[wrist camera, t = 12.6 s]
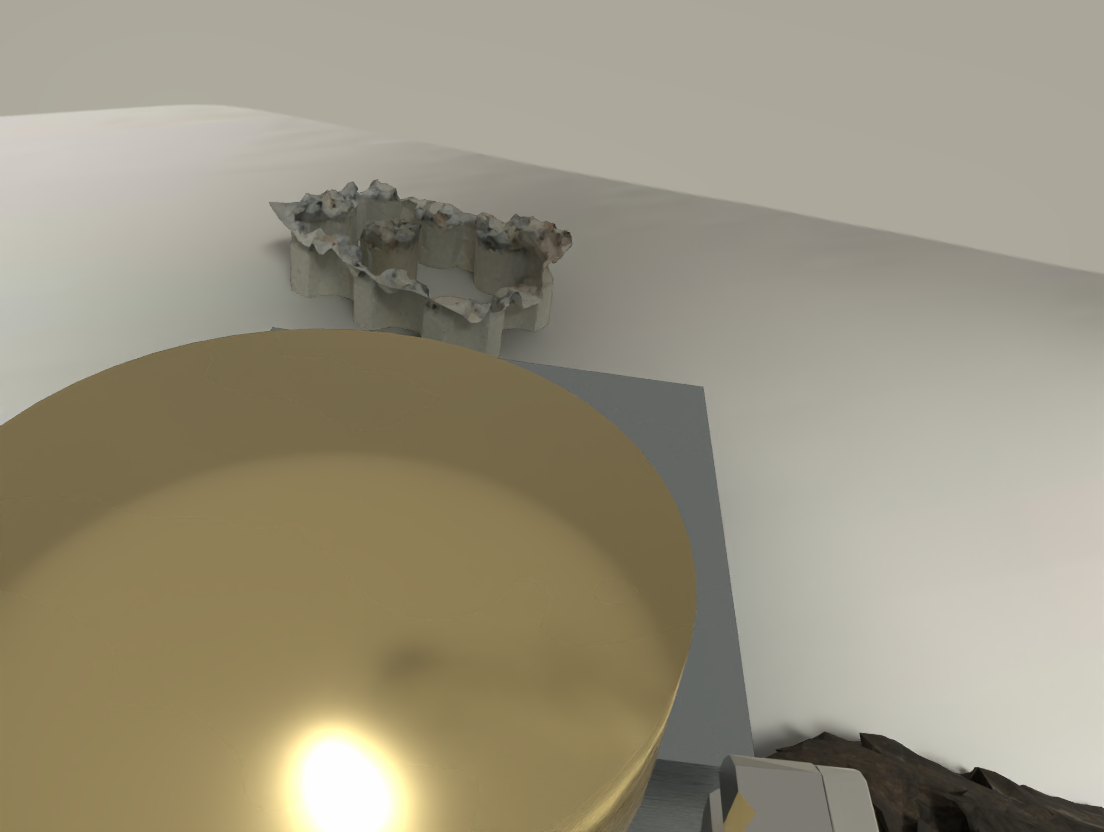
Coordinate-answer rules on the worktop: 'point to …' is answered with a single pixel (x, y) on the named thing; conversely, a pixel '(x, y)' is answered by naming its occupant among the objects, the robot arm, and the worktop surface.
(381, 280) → the egg carton
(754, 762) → the robot arm
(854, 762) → the wood
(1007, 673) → the worktop surface
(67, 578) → the round headed pin
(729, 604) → the housing
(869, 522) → the worktop surface
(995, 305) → the worktop surface
